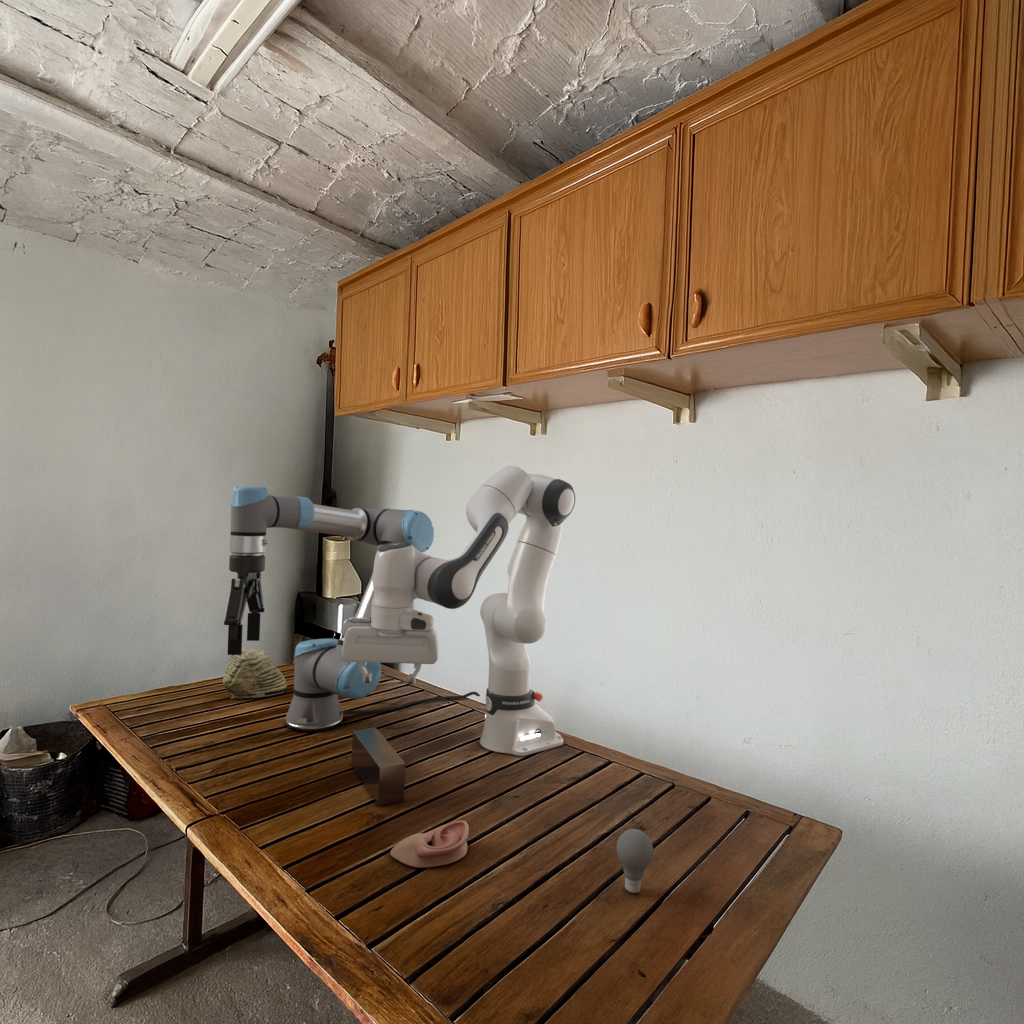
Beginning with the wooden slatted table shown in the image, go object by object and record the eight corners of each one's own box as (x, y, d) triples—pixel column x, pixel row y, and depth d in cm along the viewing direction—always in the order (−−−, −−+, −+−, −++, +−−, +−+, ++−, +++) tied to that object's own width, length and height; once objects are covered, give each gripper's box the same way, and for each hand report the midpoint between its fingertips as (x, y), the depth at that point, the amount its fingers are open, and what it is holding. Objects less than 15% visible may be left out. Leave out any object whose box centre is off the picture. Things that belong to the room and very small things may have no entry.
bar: (351, 764, 150) (352, 730, 150) (374, 760, 153) (375, 727, 153) (378, 806, 131) (379, 767, 131) (404, 801, 133) (405, 763, 133)
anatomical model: (384, 839, 110) (407, 809, 122) (383, 862, 111) (407, 829, 122) (457, 851, 108) (474, 819, 119) (456, 874, 108) (473, 840, 119)
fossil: (218, 695, 195) (220, 647, 195) (278, 685, 208) (279, 640, 207) (228, 703, 189) (230, 653, 188) (289, 692, 201) (290, 645, 201)
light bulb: (610, 879, 108) (613, 822, 108) (644, 879, 109) (647, 822, 109) (619, 902, 102) (622, 840, 102) (655, 901, 103) (658, 840, 103)
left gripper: (248, 560, 132) (244, 661, 132) (278, 550, 156) (275, 635, 157) (210, 558, 131) (206, 660, 131) (247, 549, 156) (244, 634, 156)
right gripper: (339, 619, 131) (336, 685, 131) (438, 622, 132) (435, 688, 133) (345, 613, 137) (343, 677, 138) (440, 617, 139) (437, 680, 139)
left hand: (244, 647), depth 144 cm, fingers open, 13 cm apart
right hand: (389, 682), depth 135 cm, fingers open, 8 cm apart
